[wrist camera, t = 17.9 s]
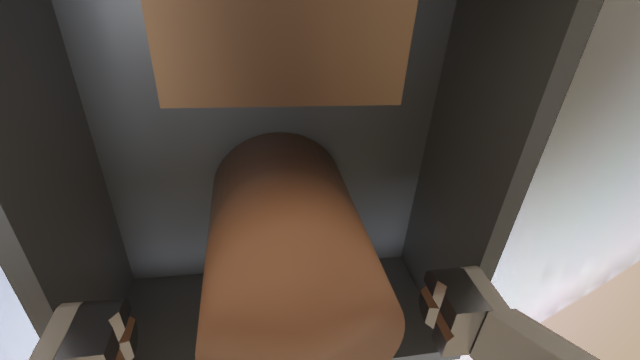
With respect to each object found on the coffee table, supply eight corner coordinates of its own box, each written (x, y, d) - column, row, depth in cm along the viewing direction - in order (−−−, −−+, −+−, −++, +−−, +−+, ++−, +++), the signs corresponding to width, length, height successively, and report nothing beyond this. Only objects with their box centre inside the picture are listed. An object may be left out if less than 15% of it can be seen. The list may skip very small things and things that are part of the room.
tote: (516, -229, 10) (760, -387, 5) (406, 256, 19) (459, 358, 14) (-62, -317, 8) (-540, -726, 3) (125, 280, 17) (79, 410, 12)
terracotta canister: (333, 236, 17) (385, 394, 11) (216, 242, 16) (203, 420, 10) (347, 132, 14) (425, 264, 8) (208, 132, 13) (183, 283, 7)
